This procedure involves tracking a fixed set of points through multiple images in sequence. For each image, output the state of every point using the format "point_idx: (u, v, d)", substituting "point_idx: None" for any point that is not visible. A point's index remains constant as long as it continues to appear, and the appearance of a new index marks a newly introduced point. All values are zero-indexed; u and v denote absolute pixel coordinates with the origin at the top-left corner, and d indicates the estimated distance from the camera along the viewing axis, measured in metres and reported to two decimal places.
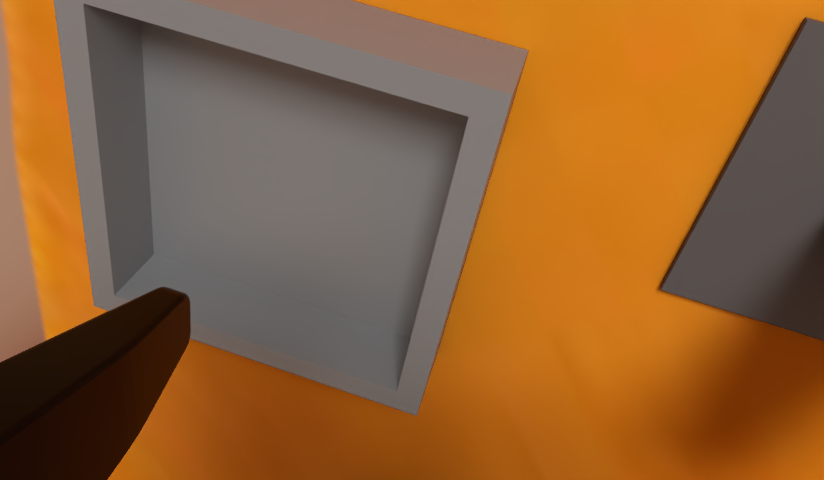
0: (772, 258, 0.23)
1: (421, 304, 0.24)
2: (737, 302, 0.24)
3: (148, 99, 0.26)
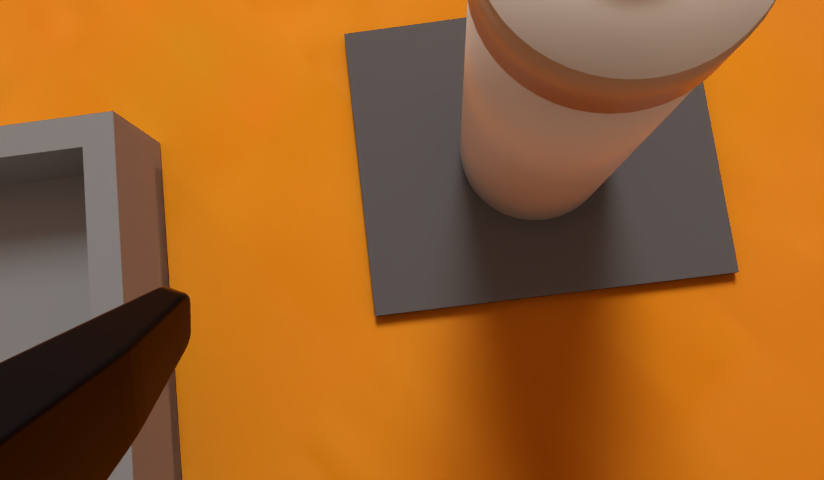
0: (447, 230, 0.24)
1: None
2: (449, 292, 0.23)
3: None
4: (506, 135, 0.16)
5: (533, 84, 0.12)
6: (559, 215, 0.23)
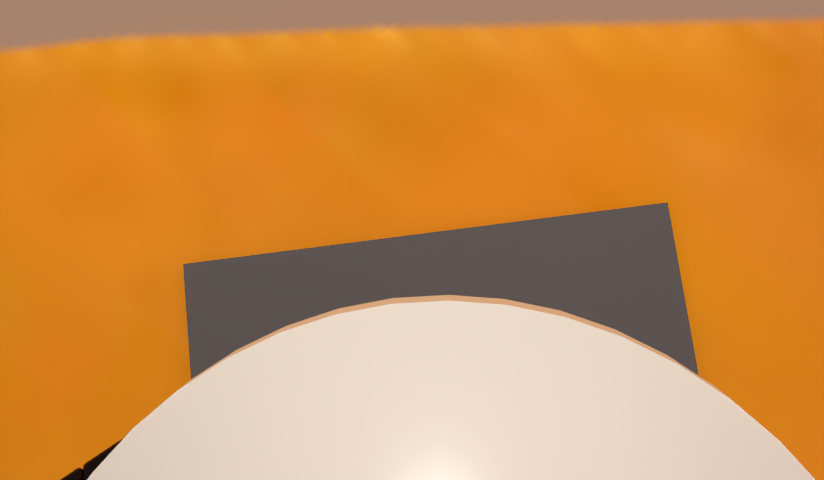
0: None
1: None
2: None
3: None
4: None
5: None
6: None
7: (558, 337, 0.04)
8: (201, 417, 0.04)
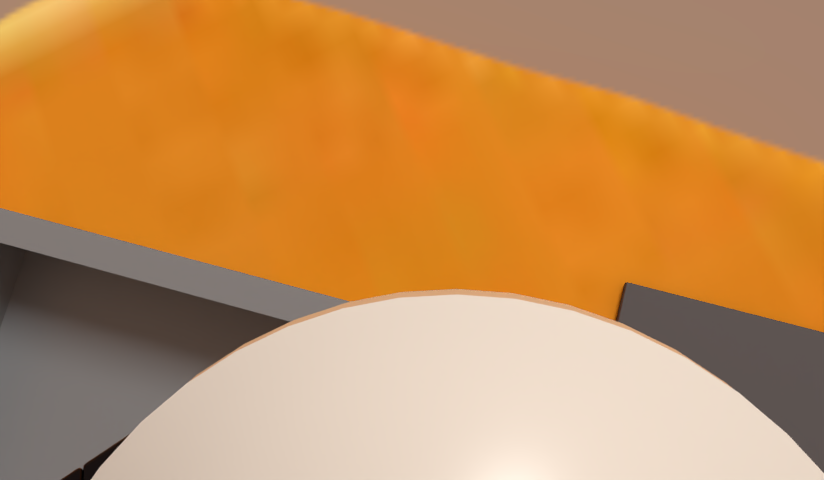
0: None
1: None
2: None
3: None
4: None
5: None
6: None
7: (567, 330, 0.04)
8: (209, 410, 0.04)
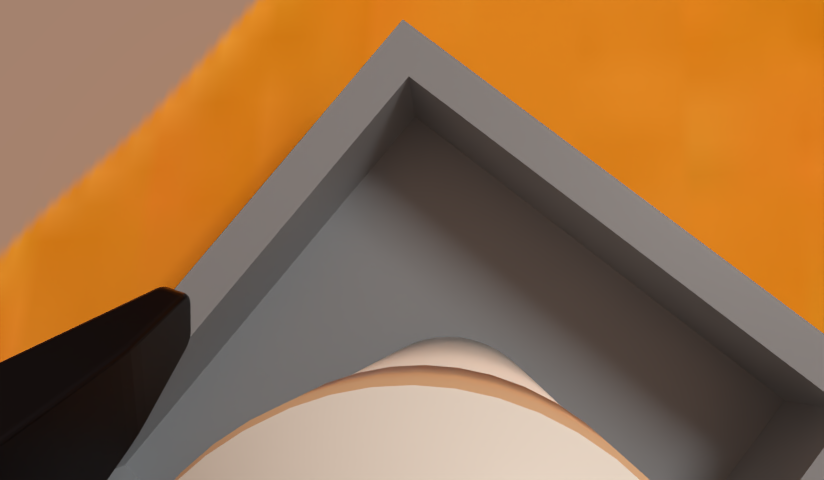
0: None
1: None
2: None
3: (315, 244, 0.19)
4: None
5: None
6: None
7: (494, 416, 0.05)
8: (223, 476, 0.05)
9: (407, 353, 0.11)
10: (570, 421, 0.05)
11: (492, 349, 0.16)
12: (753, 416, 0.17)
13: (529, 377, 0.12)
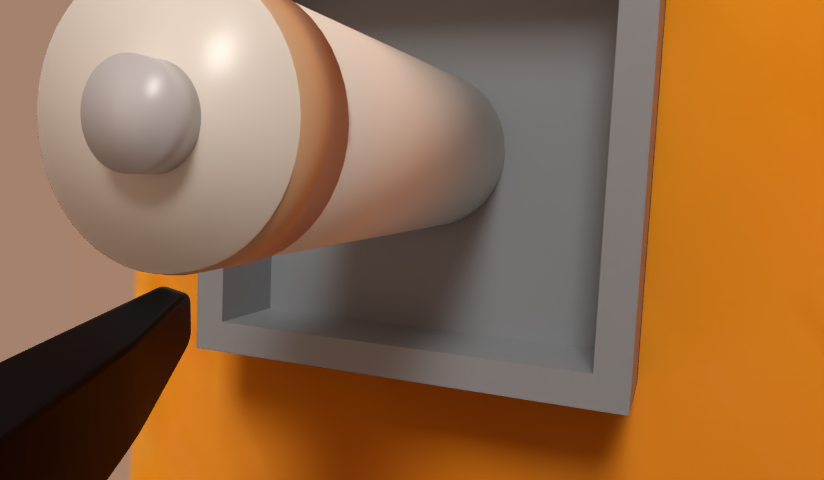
0: None
1: (607, 200, 0.18)
2: None
3: None
4: None
5: None
6: (489, 194, 0.22)
7: None
8: (48, 80, 0.12)
9: None
10: None
11: None
12: None
13: None
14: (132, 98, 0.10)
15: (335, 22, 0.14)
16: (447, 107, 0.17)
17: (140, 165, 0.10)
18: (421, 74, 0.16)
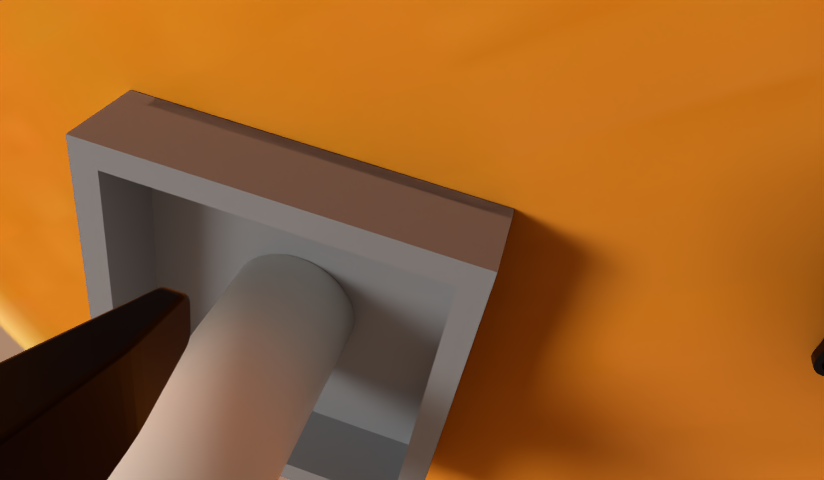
0: None
1: (312, 238, 0.21)
2: None
3: None
4: None
5: None
6: (329, 279, 0.26)
7: None
8: None
9: None
10: None
11: None
12: None
13: None
14: None
15: None
16: (205, 354, 0.22)
17: None
18: (171, 375, 0.22)
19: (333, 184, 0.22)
